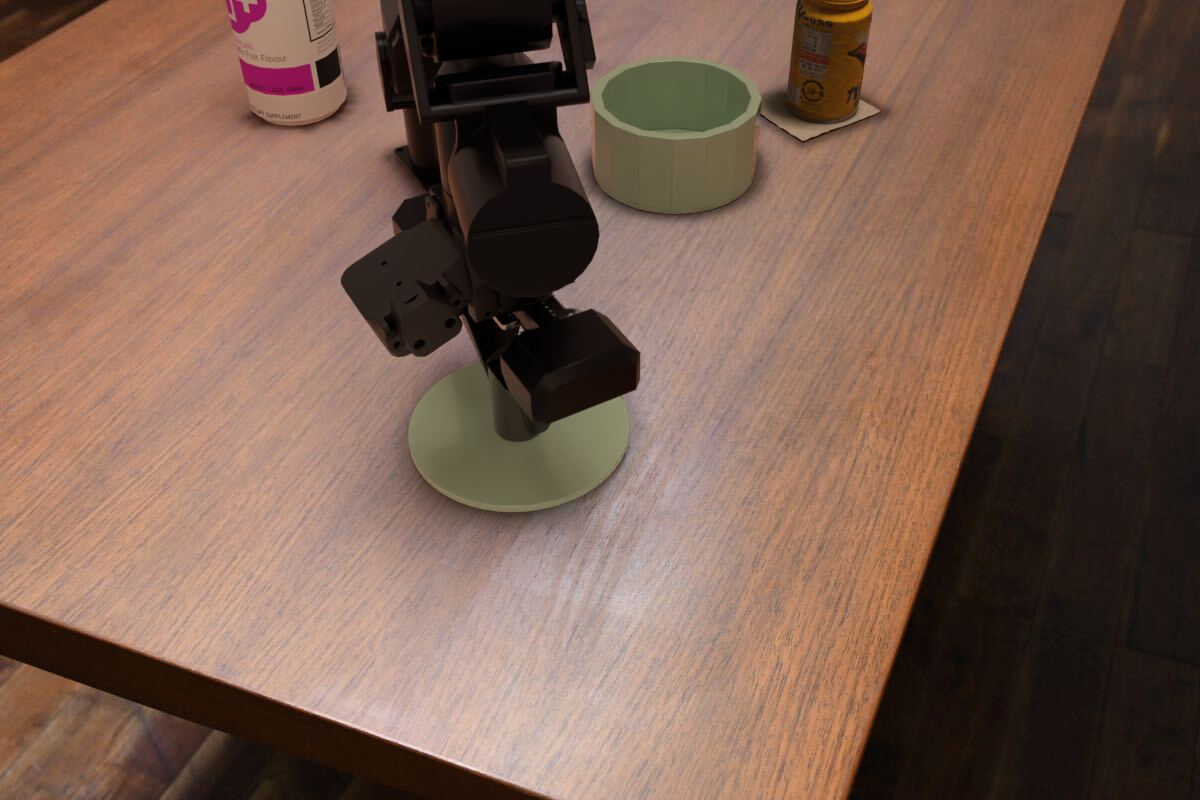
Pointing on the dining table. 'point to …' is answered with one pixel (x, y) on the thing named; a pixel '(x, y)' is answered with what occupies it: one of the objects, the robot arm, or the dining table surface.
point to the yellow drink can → (824, 69)
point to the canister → (675, 134)
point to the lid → (510, 445)
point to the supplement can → (289, 58)
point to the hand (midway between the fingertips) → (517, 405)
